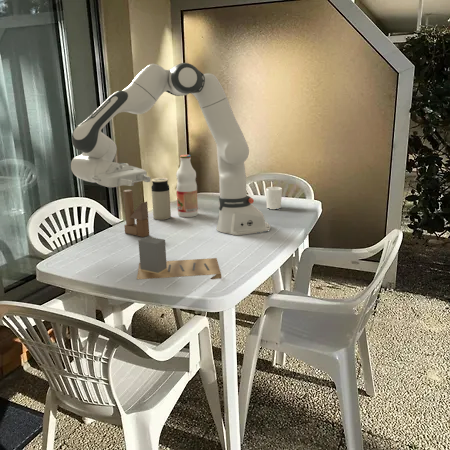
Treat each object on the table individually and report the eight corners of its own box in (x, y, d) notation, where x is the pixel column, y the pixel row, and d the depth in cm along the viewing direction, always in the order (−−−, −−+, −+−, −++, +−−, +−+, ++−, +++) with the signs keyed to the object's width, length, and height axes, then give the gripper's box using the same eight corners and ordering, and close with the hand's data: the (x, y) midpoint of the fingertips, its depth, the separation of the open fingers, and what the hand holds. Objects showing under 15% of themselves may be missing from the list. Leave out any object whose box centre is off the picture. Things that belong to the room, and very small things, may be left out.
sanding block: (140, 270, 148) (138, 240, 145) (149, 265, 152) (147, 236, 149) (158, 273, 145) (156, 243, 142) (166, 269, 148) (165, 239, 146)
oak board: (216, 262, 158) (216, 257, 157) (221, 278, 144) (221, 273, 144) (139, 266, 155) (139, 262, 154) (137, 283, 141) (136, 279, 141)
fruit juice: (194, 218, 211) (192, 157, 203) (175, 217, 213) (172, 156, 205) (200, 212, 220) (198, 153, 212) (181, 211, 222) (178, 153, 214)
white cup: (282, 210, 221) (282, 190, 218) (266, 210, 222) (266, 190, 219) (280, 206, 229) (281, 186, 226) (265, 206, 229) (265, 186, 226)
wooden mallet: (143, 237, 185) (140, 193, 180) (124, 233, 191) (121, 190, 186) (149, 235, 188) (146, 192, 183) (131, 231, 194) (127, 189, 189)
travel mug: (169, 220, 209) (167, 181, 204) (152, 220, 209) (149, 181, 204) (171, 215, 216) (169, 177, 211) (155, 215, 217) (152, 177, 211)
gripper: (89, 168, 154) (121, 176, 148) (128, 162, 172) (158, 169, 166) (88, 186, 156) (121, 195, 150) (127, 179, 174) (157, 186, 168)
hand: (141, 181), depth 158 cm, fingers open, 8 cm apart
